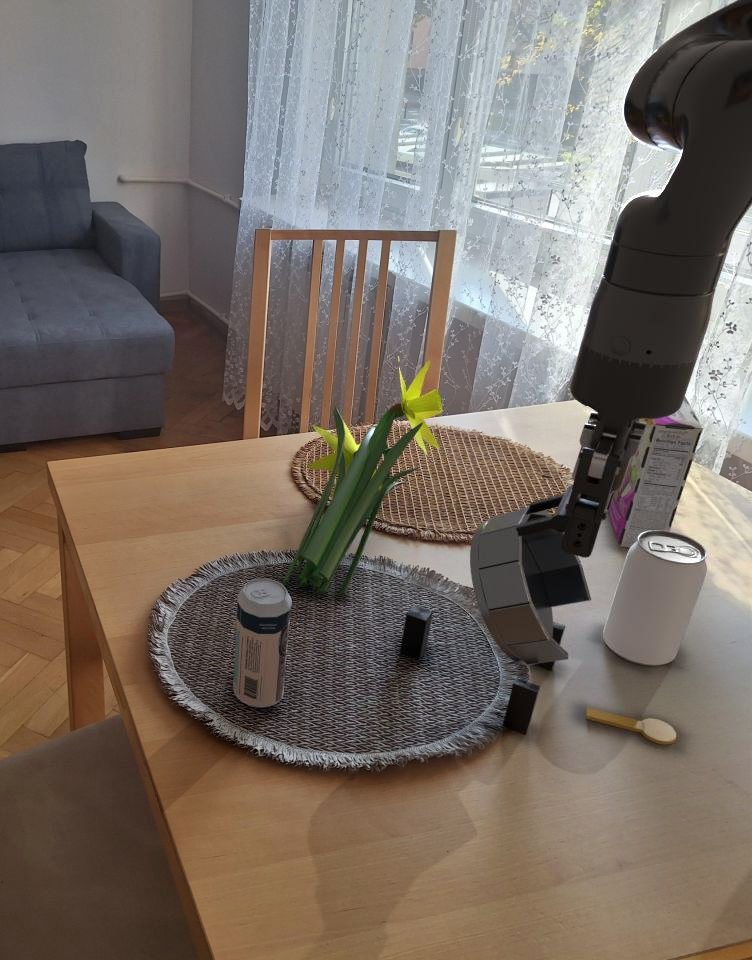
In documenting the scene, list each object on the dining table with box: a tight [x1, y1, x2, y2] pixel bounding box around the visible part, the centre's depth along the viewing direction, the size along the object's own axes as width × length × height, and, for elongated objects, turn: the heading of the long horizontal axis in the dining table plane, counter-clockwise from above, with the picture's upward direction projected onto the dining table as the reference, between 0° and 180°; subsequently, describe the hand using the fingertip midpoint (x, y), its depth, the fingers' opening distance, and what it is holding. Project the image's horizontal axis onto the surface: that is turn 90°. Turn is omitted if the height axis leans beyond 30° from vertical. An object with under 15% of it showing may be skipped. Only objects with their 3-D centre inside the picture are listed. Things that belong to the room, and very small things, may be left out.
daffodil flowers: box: [281, 355, 444, 598], centre depth 104 cm, size 17×15×35 cm
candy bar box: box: [608, 396, 704, 550], centre depth 101 cm, size 11×5×16 cm, turn 161°
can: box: [602, 530, 708, 667], centre depth 83 cm, size 6×6×12 cm
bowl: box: [469, 484, 592, 666], centre depth 74 cm, size 14×13×9 cm
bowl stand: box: [399, 604, 566, 736], centre depth 82 cm, size 13×11×5 cm
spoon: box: [585, 707, 678, 745], centre depth 76 cm, size 7×3×1 cm, turn 65°
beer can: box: [232, 578, 293, 708], centre depth 79 cm, size 5×5×12 cm
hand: (583, 533), depth 71 cm, fingers closed on bowl, 6 cm apart
